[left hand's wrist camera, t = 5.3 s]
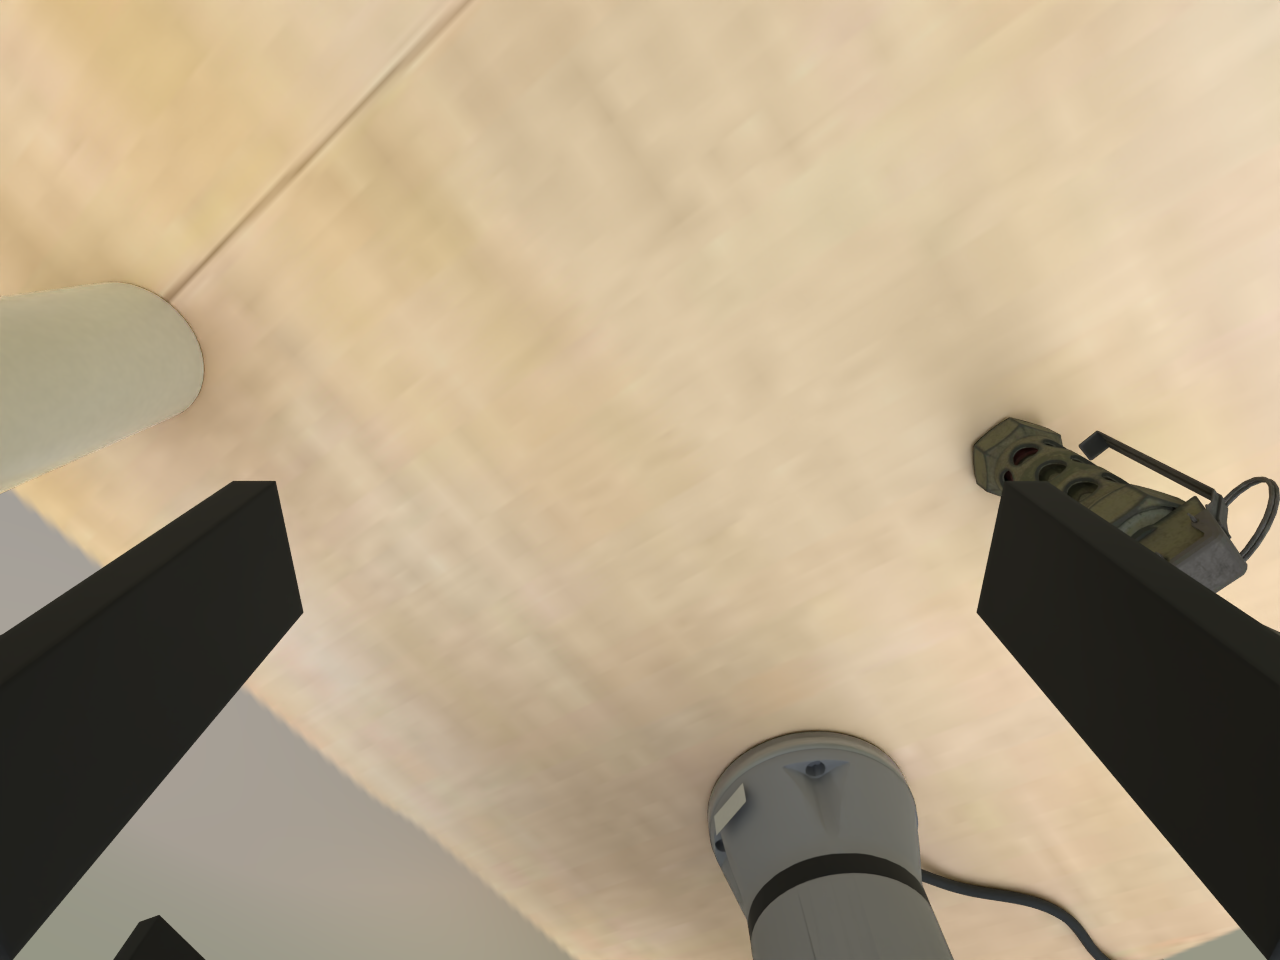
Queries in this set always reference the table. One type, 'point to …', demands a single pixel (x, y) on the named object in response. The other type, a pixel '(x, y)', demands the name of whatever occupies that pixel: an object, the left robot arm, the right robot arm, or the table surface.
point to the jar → (88, 373)
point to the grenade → (1127, 497)
